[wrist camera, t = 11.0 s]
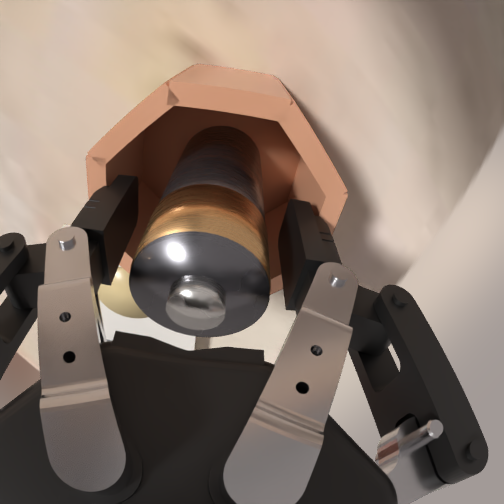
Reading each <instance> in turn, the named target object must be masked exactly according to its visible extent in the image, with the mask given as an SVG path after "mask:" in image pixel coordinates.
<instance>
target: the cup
mask: <svg viewBox="0 0 504 504" xmlns="http://www.w3.org/2000/svg"><path fill="white" fill-rule="evenodd" d="M212 126H229V127H234V128H236V129H239V130H241V131H243V132H244V133H246V134H247V135H248V136H249V137H250V138H251V139H252V140H253V141H254V142H255V144H256V146H257V148H258V150H259V153H260V158H261V170H262V183H263V197H264V212H265V224H266V227H267V234H268V248H269V263H270V278H271V292H270V295H271V294H273V293H275V292H277V291H279V290H281V289H283V282H282V274H281V266H280V258H279V250H278V238H279V232H280V229H281V225H282V222H283V219H284V215H285V212H286V209H287V205H288V202H289V200H290V199H297V200H302V201H308V202H310V204H311V207H312V210H313V213H314V215H315V216H320V217H321V218H322V219H323V220H324V221H325V222H326V223H327V224H328V226H329V229H330V232H331V235H332V234H333V232H334V229H335V227H336V224H337V222H338V219H339V217H340V214H341V212H342V209H343V207H344V204H345V202H346V199H347V197H348V194H347V192H348V191H347V189H346V187H345V185H344V183H343V181H342V179H341V178H340V176H339V174H338V172H337V170H336V169H335V167H334V165H333V163H332V162H331V160H330V158H329V156H328V155H327V153H326V151H325V150H324V148H323V146H322V144H321V143H320V141H319V139H318V138H317V136H316V134H315V133H314V131H313V129H312V128H311V126H310V125H309V123H308V121H307V120H306V118H305V117H304V115H303V113H302V112H301V110H300V109H299V107H298V106H297V104H296V103H295V101H294V100H293V98H292V97H291V95H290V94H289V93H288V91H287V90H286V88H285V87H284V86H283V84H282V83H281V82H280V80H279V79H278V78H276V77H275V76H272V75H267V74H262V73H257V72H251V71H245V70H239V69H233V68H226V67H219V66H212V65H203V64H196V65H192V66H191V67H189V68H187V69H186V70H184V71H182V72H181V73H179V74H177V75H176V76H174V77H173V78H171V79H169V80H168V81H166V82H165V83H163V84H162V85H161V86H160V87H158V88H157V89H156V90H155V91H154V92H152V93H151V94H150V95H149V96H148V97H146V98H145V99H144V100H143V101H142V102H141V103H139V104H138V105H137V106H136V107H135V108H134V109H133V110H131V111H130V112H129V113H128V114H127V115H126V116H125V117H124V118H123V119H121V120H120V121H119V122H118V123H117V124H116V125H115V126H114V127H113V128H112V129H111V130H110V131H109V132H108V133H107V134H106V135H105V136H103V137H102V138H101V139H100V140H99V141H98V142H97V143H96V144H95V145H94V146H93V147H92V149H91V150H90V151H89V152H88V155H87V156H86V168H87V183H88V196H89V199H90V197H91V196H92V195H93V193H94V192H95V191H97V190H98V189H100V188H101V187H103V186H110V185H111V184H112V183H113V181H114V180H115V178H116V177H117V176H118V175H119V174H120V175H130V176H137V177H138V208H139V212H138V220H137V224H136V227H135V229H134V232H133V234H132V236H131V238H130V241H129V243H128V245H127V248H126V250H125V252H124V255H123V257H122V259H121V262H120V264H119V265H120V266H121V267H122V268H123V269H124V270H125V271H127V272H128V273H129V274H130V268H131V263H132V261H133V258H134V256H135V253H136V251H137V248H138V246H139V244H140V241H141V239H142V236H143V234H144V232H145V229H146V227H147V225H148V222H149V220H150V218H151V216H152V213H153V211H154V209H155V208H156V206H157V205H158V203H159V201H160V199H161V197H162V195H163V193H164V190H165V188H166V186H167V184H168V182H169V180H170V178H171V175H172V173H173V171H174V169H175V167H176V165H177V163H178V161H179V159H180V157H181V155H182V153H183V151H184V149H185V147H186V145H187V143H188V142H189V140H190V139H191V138H192V137H193V136H194V135H195V134H197V133H198V132H200V131H201V130H203V129H206V128H209V127H212Z"/></svg>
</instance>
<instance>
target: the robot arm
mask: <svg viewBox="0 0 504 504" xmlns="http://www.w3.org/2000/svg"><path fill="white" fill-rule="evenodd" d="M138 212H139V208H138V177H137V176H130V175H120V174H119V175H118V176H117V177H116V178H115V180H114V181H113V183H112V184H111V185H110V186H103V187H101V188H100V189H98V190H97V191H95V192H94V193H93V195H92V196H91V197H90V199H89V201H88V202H87V203H86V204H85V206H84V207H83V209H82V210H81V211H80V213H79V214H78V216H77V217H76V219H75V220H74V221H73V223H72V224H71V226H70V227H65V228H61V229H59V230H57V231H55V232H54V233H52V234H51V235H50V236H49V238H48V240H47V243H44V244H35V245H26V241H25V238H24V236H23V235H21V234H19V233H8V234H5V235H2V236H1V237H0V294H1V293H2V292H3V291H4V289H5V291H6V293H7V297H6V299H5V300H4V302H3V303H2V304H1V306H0V380H1V378H2V376H3V374H4V372H5V370H6V369H7V367H8V365H9V363H10V361H11V360H12V358H13V356H14V355H15V353H16V351H17V350H18V348H19V346H20V345H21V343H22V341H23V340H24V338H25V336H26V335H27V333H28V332H29V330H30V328H31V327H32V325H33V324H34V322H35V321H36V319H37V317H38V351H39V366H40V377H41V379H40V380H38V381H37V382H36V383H35V384H34V385H32V386H31V387H29V388H28V389H27V390H25V391H24V392H23V393H21V394H20V395H19V396H17V397H16V398H15V399H14V400H12V401H11V402H9V403H8V404H7V405H6V406H4V407H3V408H2V409H0V504H410V503H411V502H414V501H416V500H418V499H419V498H421V497H423V496H425V495H427V494H429V493H431V492H434V491H437V490H440V489H442V488H445V487H447V486H450V485H452V484H455V483H457V482H460V481H462V480H464V479H466V478H469V477H471V476H473V475H475V474H478V473H479V472H481V471H482V470H483V469H484V467H485V465H486V463H487V460H488V447H487V443H486V441H485V438H484V436H483V433H482V431H481V429H480V426H479V424H478V422H477V419H476V417H475V415H474V412H473V410H472V408H471V406H470V403H469V401H468V399H467V397H466V395H465V393H464V391H463V389H462V386H461V385H460V382H459V380H458V378H457V376H456V374H455V372H454V370H453V368H452V366H451V365H450V362H449V361H448V359H447V357H446V355H445V353H444V351H443V349H442V347H441V346H440V343H439V342H438V340H437V338H436V336H435V334H434V333H433V331H432V329H431V327H430V325H429V324H428V322H427V321H426V319H425V317H424V315H423V313H422V312H421V310H420V308H419V307H418V305H417V303H416V301H415V300H414V298H413V297H412V296H411V294H410V293H409V292H407V291H406V290H405V289H403V288H401V287H399V286H396V285H387V286H385V287H383V289H382V290H381V292H380V293H377V292H374V291H371V290H369V289H366V288H363V287H361V286H359V285H358V279H357V277H356V275H355V274H354V273H353V272H352V271H351V270H350V269H349V268H347V267H345V266H343V265H342V263H341V260H340V258H339V255H338V252H337V249H336V246H335V243H334V240H333V237H332V235H331V232H330V229H329V226H328V224H327V223H326V222H325V221H324V220H323V219H322V218H321V217H320V216H315V215H314V213H313V210H312V207H311V204H310V202H308V201H302V200H297V199H290V200H289V202H288V205H287V209H286V212H285V215H284V219H283V222H282V225H281V229H280V232H279V238H278V250H279V258H280V266H281V274H282V282H283V290H284V298H285V306H286V310H295V311H296V315H297V316H296V318H295V321H294V323H293V325H292V327H291V329H290V331H289V334H288V336H287V338H286V340H285V342H284V344H283V347H282V349H281V351H280V353H279V355H278V357H277V359H276V361H275V363H274V364H271V363H269V362H266V361H264V350H255V349H244V348H234V347H221V348H212V349H202V350H190V351H189V350H184V349H181V348H179V347H176V346H173V345H171V344H168V343H165V342H163V341H160V340H158V339H155V338H153V337H150V336H143V335H138V334H132V333H126V332H121V331H115V334H114V338H113V341H107V340H106V335H105V330H104V324H103V319H102V313H101V307H100V301H99V295H98V290H99V287H100V285H101V284H104V285H110V286H111V284H112V282H113V279H114V277H115V274H116V272H117V269H118V267H119V264H120V262H121V259H122V257H123V255H124V252H125V250H126V248H127V245H128V243H129V241H130V238H131V236H132V234H133V232H134V229H135V227H136V224H137V220H138ZM391 343H392V345H393V348H394V350H395V352H396V354H397V356H398V358H399V360H400V366H401V367H400V372H399V370H398V368H397V366H396V364H395V362H394V359H393V357H392V355H391V353H390V351H389V349H388V346H389V345H390V344H391ZM347 351H349V354H350V356H351V359H352V362H353V364H354V366H355V369H356V372H357V374H358V377H359V380H360V382H361V385H362V387H363V390H364V393H365V395H366V398H367V401H368V403H369V406H370V409H371V412H372V414H373V417H374V419H375V422H376V425H377V428H378V431H379V434H380V436H381V440H380V442H379V444H378V449H377V454H376V457H375V461H376V463H377V464H378V465H379V466H378V465H377V464H376V463H375V462H374V461H373V460H372V459H371V458H370V457H369V456H368V455H367V454H366V453H365V452H364V451H363V450H362V449H361V448H360V447H359V446H358V445H357V444H356V443H355V442H354V440H353V439H352V438H351V437H350V436H349V435H348V434H347V433H346V432H345V431H344V430H343V429H342V428H341V427H340V426H339V425H338V424H337V423H336V421H334V419H333V418H332V417H331V416H330V415H329V411H330V408H331V405H332V402H333V399H334V396H335V392H336V389H337V386H338V383H339V379H340V376H341V372H342V369H343V365H344V362H345V358H346V354H347Z"/></svg>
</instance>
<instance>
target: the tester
mask: <svg viewBox="0 0 504 504" xmlns="http://www.w3.org/2000/svg"><path fill="white" fill-rule="evenodd" d="M70 226H71V225H67V224H64V225H63V227H62V228H65V227H70ZM129 275H130V274H129V273H128V272H127V271H125V270H124V269H123V268H122V267H121V266H120V265H119V267H118V269H117V272H116V274H115V277H114V279H113V282H112V284H111V286H110V285H104V284H101V285H100V287H99V290H98V295H99V301H100V307H101V313H102V319H103V324H104V330H105V335H106V340H107V341H113V338H114V334H115V331H121V332H126V333H132V334H138V335H143V336H150V337H153V338H155V339H158V340H160V341H163V342H165V343H168V344H171V345H173V346H176V347H179V348H181V349H184V350H189V351H190V350H194V348H195V339H196V336H190V335H185V334H181V333H178V332H175V331H172V330H169V329H167V328H165V327H163V326H161V325H159V324H158V323H156V322H154V321H153V320H152V319H150V318H149V317H148V316H147V315H145V314H144V313H143V312H142V310H141V309H140V308H139V307H138V306H137V304H136V303H135V301H134V299H133V297H132V295H131V292H130V288H129Z"/></svg>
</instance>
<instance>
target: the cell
mask: <svg viewBox="0 0 504 504" xmlns="http://www.w3.org/2000/svg"><path fill="white" fill-rule="evenodd" d="M129 288H130V292H131V295H132V297H133V299H134V301H135V303H136V304H137V306H138V307H139V308H140V309H141V310H142V312H143V313H144V314H145V315H147V316H148V317H149V318H150V319H152V320H153V321H154V322H156V323H158V324H159V325H161V326H163V327H165V328H167V329H169V330H172V331H175V332H178V333H181V334H185V335H190V336H197V337H219V336H225V335H230V334H233V333H236V332H239V331H242V330H244V329H246V328H248V327H249V326H251V325H252V324H254V323H255V322H256V321H257V320H258V319H259V318H260V317H261V316H262V315H263V313H264V312H265V310H266V308H267V306H268V302H269V296H270V292H271V278H270V263H269V248H268V234H267V227H266V224H265V212H264V197H263V183H262V170H261V158H260V153H259V150H258V148H257V146H256V144H255V142H254V141H253V140H252V139H251V138H250V137H249V136H248V135H247V134H246V133H244V132H243V131H241V130H239V129H236V128H234V127H229V126H212V127H209V128H206V129H203V130H201V131H200V132H198V133H197V134H195V135H194V136H193V137H192V138H191V139H190V140H189V142H188V143H187V145H186V147H185V149H184V151H183V153H182V155H181V157H180V159H179V161H178V163H177V165H176V167H175V169H174V171H173V173H172V175H171V178H170V180H169V182H168V184H167V186H166V188H165V190H164V193H163V195H162V197H161V199H160V201H159V203H158V205H157V206H156V208H155V209H154V211H153V213H152V216H151V218H150V220H149V222H148V225H147V227H146V229H145V232H144V234H143V236H142V239H141V241H140V244H139V246H138V248H137V251H136V253H135V256H134V258H133V261H132V263H131V268H130V275H129Z"/></svg>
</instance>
